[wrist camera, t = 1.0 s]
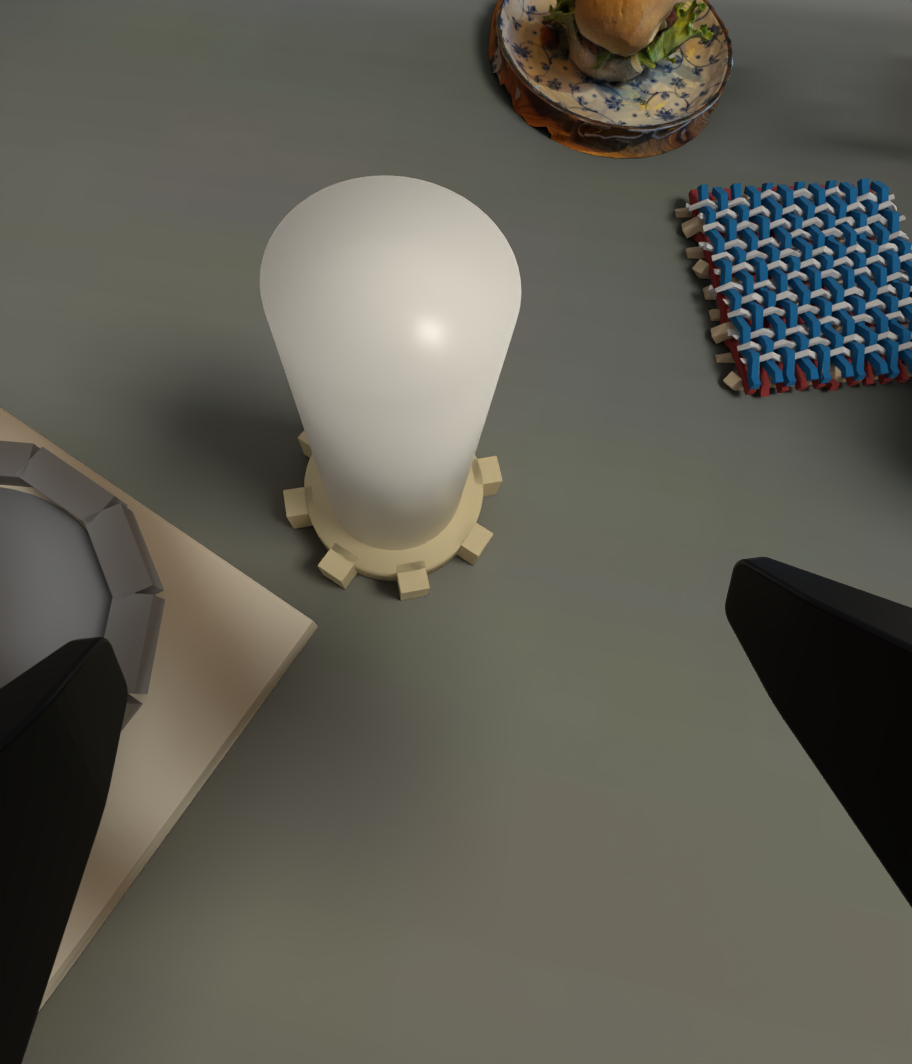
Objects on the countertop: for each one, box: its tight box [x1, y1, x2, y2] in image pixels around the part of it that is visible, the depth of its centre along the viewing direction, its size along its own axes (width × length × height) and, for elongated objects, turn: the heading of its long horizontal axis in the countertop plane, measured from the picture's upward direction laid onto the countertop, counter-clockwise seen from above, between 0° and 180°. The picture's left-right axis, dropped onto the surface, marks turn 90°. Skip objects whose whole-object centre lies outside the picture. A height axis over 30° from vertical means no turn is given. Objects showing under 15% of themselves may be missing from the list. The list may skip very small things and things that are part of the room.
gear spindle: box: [260, 176, 521, 601], centre depth 17 cm, size 8×8×12 cm
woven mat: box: [674, 179, 912, 396], centre depth 27 cm, size 10×11×2 cm
